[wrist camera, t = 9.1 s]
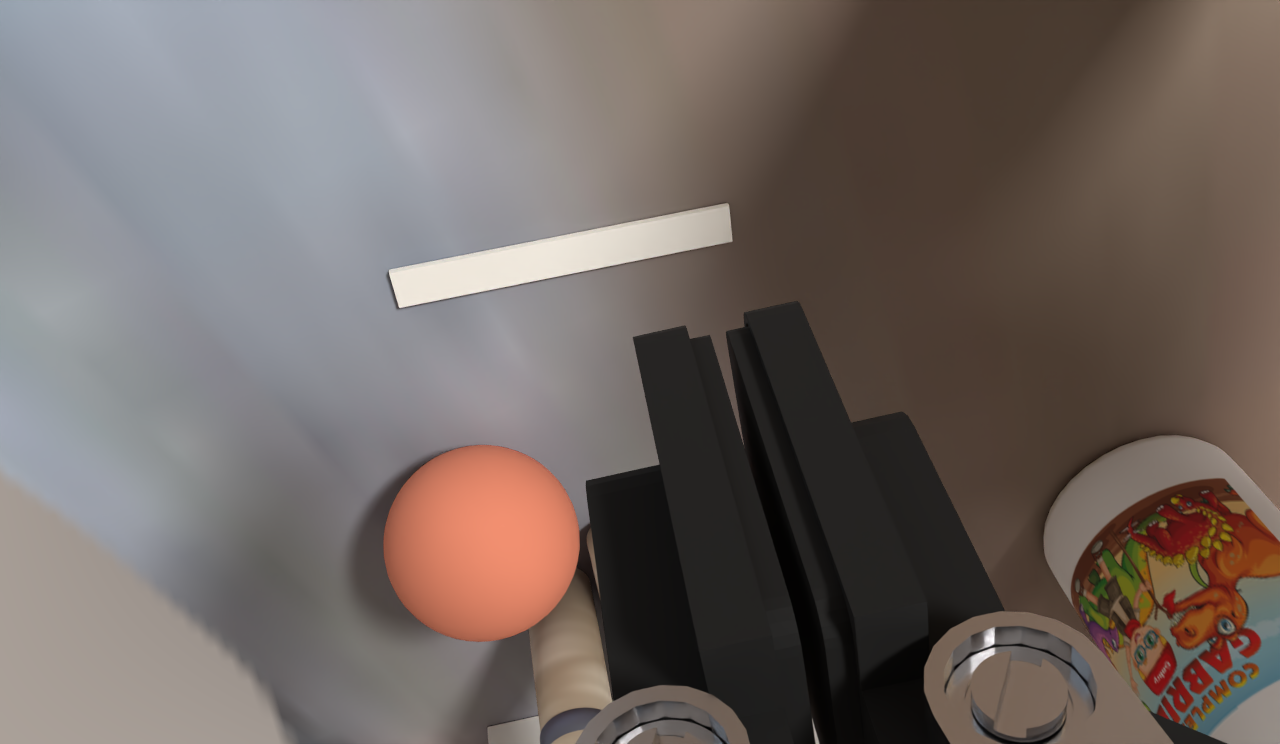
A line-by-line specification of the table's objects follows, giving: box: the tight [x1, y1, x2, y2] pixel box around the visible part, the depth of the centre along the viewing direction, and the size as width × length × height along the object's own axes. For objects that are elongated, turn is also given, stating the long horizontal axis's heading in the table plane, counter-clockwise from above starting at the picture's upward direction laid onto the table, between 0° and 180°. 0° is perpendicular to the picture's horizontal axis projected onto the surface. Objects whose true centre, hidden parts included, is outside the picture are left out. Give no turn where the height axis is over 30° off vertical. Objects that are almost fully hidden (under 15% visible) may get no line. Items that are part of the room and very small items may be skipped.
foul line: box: [389, 203, 733, 308], centre depth 35 cm, size 10×1×1 cm, turn 97°
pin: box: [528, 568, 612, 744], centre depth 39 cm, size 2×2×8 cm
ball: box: [383, 445, 580, 642], centre depth 37 cm, size 6×6×6 cm
